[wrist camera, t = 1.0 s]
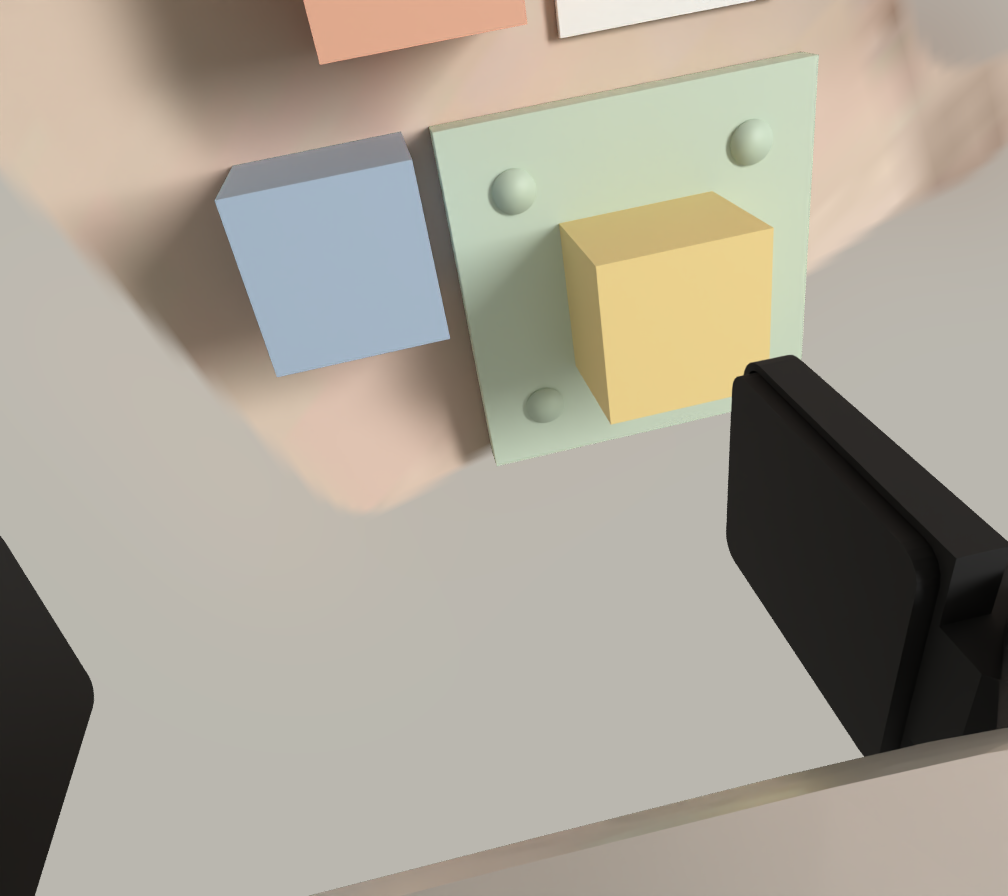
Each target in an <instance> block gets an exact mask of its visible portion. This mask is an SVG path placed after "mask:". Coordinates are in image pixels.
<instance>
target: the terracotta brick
mask: <svg viewBox="0 0 1008 896" xmlns="http://www.w3.org/2000/svg"><path fill="white" fill-rule="evenodd" d="M303 1H304V5H305V9H306V13H307V17H308V21H309V25H310V28H311V32H312V36H313V40H314V44H315V48H316V52H317V56H318V59H319V63H320V65H322V64H327V63H332V62H337V61H342V60H347V59H352V58H357V57H362V56H367V55H373V54H378V53H383V52H388V51H393V50H398V49H403V48H408V47H413V46H418V45H423V44H428V43H434V42H439V41H444V40H449V39H454V38H459V37H464V36H469V35H474V34H479V33H484V32H489V31H495V30H500V29H505V28H510V27H515V26H520V25H525V24H527V17H526V10H525V2H524V0H303Z"/></svg>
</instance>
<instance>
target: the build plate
mask: <svg viewBox="0 0 1008 896" xmlns="http://www.w3.org/2000/svg"><path fill="white" fill-rule="evenodd" d="M818 57H819V55H817V54H811V53H806V52H798V53H793V54H788V55H783V56H778V57H773V58H768V59H763V60H758V61H753V62H748V63H743V64H738V65H733V66H728V67H723V68H718V69H714V70H709V71H704V72H699V73H694V74H689V75H684V76H679V77H674V78H669V79H664V80H659V81H654V82H649V83H644V84H639V85H634V86H629V87H624V88H619V89H614V90H609V91H604V92H599V93H594V94H589V95H584V96H579V97H574V98H569V99H564V100H559V101H554V102H549V103H544V104H539V105H534V106H529V107H524V108H519V109H514V110H509V111H504V112H499V113H494V114H489V115H484V116H479V117H475V118H470V119H465V120H460V121H455V122H450V123H445V124H440V125H435V126H430V127H429V130H430V135H431V140H432V145H433V150H434V156H435V161H436V166H437V171H438V176H439V181H440V186H441V191H442V197H443V202H444V207H445V212H446V217H447V222H448V227H449V232H450V238H451V243H452V248H453V253H454V258H455V263H456V268H457V273H458V279H459V284H460V289H461V294H462V299H463V304H464V309H465V314H466V320H467V325H468V330H469V335H470V340H471V345H472V350H473V355H474V361H475V366H476V371H477V376H478V381H479V386H480V391H481V396H482V402H483V407H484V412H485V417H486V422H487V427H488V432H489V437H490V443H491V448H492V453H493V456H494V459H495V462H496V465H497V466H501V465H505V464H509V463H513V462H518V461H522V460H526V459H530V458H535V457H539V456H543V455H548V454H552V453H556V452H561V451H565V450H569V449H574V448H578V447H582V446H586V445H591V444H595V443H599V442H604V441H608V440H612V439H617V438H621V437H625V436H629V435H634V434H638V433H642V432H647V431H651V430H655V429H660V428H664V427H668V426H672V425H677V424H681V423H685V422H690V421H694V420H698V419H702V418H707V417H711V416H715V415H720V414H724V413H728V412H731V403H732V397H728V398H724V399H720V400H715V401H711V402H707V403H703V404H698V405H694V406H690V407H685V408H681V409H677V410H672V411H668V412H664V413H659V414H655V415H651V416H646V417H642V418H638V419H633V420H629V421H625V422H620V423H616V424H612V425H611V424H610V422H609V421H608V419H607V417H606V416H605V414H604V412H603V411H602V409H601V407H600V406H599V404H598V402H597V401H596V399H595V397H594V396H593V394H592V392H591V391H590V389H589V387H588V386H587V384H586V382H585V381H584V379H583V377H582V376H581V374H580V372H579V370H578V369H577V367H576V365H575V356H574V348H573V339H572V331H571V322H570V314H569V305H568V297H567V288H566V280H565V271H564V263H563V254H562V246H561V237H560V229H559V223H563V222H568V221H573V220H577V219H582V218H587V217H592V216H596V215H601V214H606V213H611V212H615V211H620V210H625V209H629V208H634V207H639V206H644V205H648V204H653V203H658V202H662V201H667V200H672V199H677V198H681V197H686V196H691V195H695V194H700V193H705V192H710V191H713V192H715V193H717V194H718V195H720V196H722V197H723V198H725V199H727V200H728V201H730V202H732V203H733V204H735V205H737V206H738V207H740V208H742V209H743V210H745V211H747V212H748V213H750V214H752V215H753V216H755V217H757V218H758V219H760V220H762V221H763V222H765V223H767V224H768V225H770V226H772V227H773V228H774V235H773V267H772V298H771V330H770V359H771V358H776V357H780V356H785V355H794V356H796V357H798V358H799V359H800V360H801V359H802V358H801V357H802V342H803V324H804V323H803V322H804V306H805V288H806V271H807V253H808V235H809V217H810V199H811V182H812V164H813V146H814V128H815V111H816V93H817V75H818Z"/></svg>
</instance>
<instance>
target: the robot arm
mask: <svg viewBox="0 0 1008 896" xmlns="http://www.w3.org/2000/svg"><path fill="white" fill-rule="evenodd" d="M728 477H729V478H728V501H727V502H728V503H727V526H726V537H727V543H728V547H729V551H730V553H731V556H732V557H733V559H734V561H735V563H736V564H737V566H738V567H739V569H740V570H741V572H742V573H743V575H744V576H745V578H746V579H747V581H748V582H749V584H750V586H751V587H752V589H753V590H754V591H755V593H756V594H757V596H758V597H759V599H760V601H761V602H762V604H763V605H764V607H765V608H766V610H767V611H768V613H769V614H770V616H771V617H772V619H773V620H774V622H775V623H776V625H777V626H778V628H779V629H780V631H781V632H782V634H783V635H784V637H785V638H786V640H787V641H788V643H789V645H790V646H791V648H792V649H793V651H794V652H795V654H796V655H797V657H798V658H799V660H800V661H801V663H802V664H803V666H804V667H805V669H806V670H807V672H808V673H809V675H810V676H811V678H812V679H813V681H814V682H815V684H816V685H817V687H818V688H819V690H820V691H821V693H822V694H823V696H824V698H825V699H826V700H827V702H828V704H829V705H830V707H831V708H832V710H833V711H834V713H835V714H836V716H837V717H838V719H839V720H840V722H841V723H842V725H843V726H844V728H845V729H846V731H847V732H848V734H849V735H850V737H851V738H852V740H853V741H854V743H855V744H856V746H857V747H858V749H859V750H860V752H861V753H862V754H863V755H864V757H862V758H858V759H854V760H849V761H845V762H840V763H837V764H832V765H828V766H823V767H820V768H815V769H810V770H806V771H802V772H797V773H793V774H789V775H784V776H781V777H776V778H772V779H769V780H765V781H760V782H756V783H752V784H748V785H744V786H740V787H737V788H733V789H728V790H725V791H721V792H717V793H712V794H708V795H704V796H700V797H696V798H693V799H688V800H684V801H680V802H677V803H672V804H668V805H665V806H660V807H656V808H652V809H648V810H644V811H640V812H636V813H632V814H628V815H624V816H620V817H617V818H612V819H608V820H605V821H600V822H596V823H592V824H588V825H585V826H580V827H577V828H572V829H568V830H564V831H560V832H556V833H552V834H548V835H544V836H540V837H537V838H533V839H529V840H525V841H521V842H517V843H513V844H509V845H506V846H501V847H498V848H494V849H489V850H486V851H482V852H478V853H474V854H470V855H466V856H462V857H458V858H454V859H451V860H446V861H443V862H439V863H435V864H431V865H427V866H423V867H419V868H415V869H411V870H408V871H403V872H399V873H396V874H391V875H387V876H384V877H380V878H376V879H372V880H368V881H364V882H360V883H357V884H352V885H349V886H345V887H341V888H337V889H333V890H329V891H325V892H321V893H318V894H313V895H310V896H1008V541H1007V540H1005V539H1004V538H1003V537H1002V536H1001V535H1000V534H999V533H998V532H996V531H995V530H994V529H993V528H992V527H991V526H990V525H988V524H987V523H986V522H985V521H984V520H983V519H982V518H980V517H979V516H978V515H977V514H976V513H974V511H972V510H971V509H970V508H969V507H968V506H967V505H966V504H964V503H963V502H962V501H961V500H960V499H959V498H958V497H956V496H955V495H954V494H953V493H952V492H951V491H949V490H948V489H947V488H946V487H945V486H944V485H943V484H942V483H940V482H939V481H938V480H937V479H936V478H935V477H934V476H932V475H931V474H930V473H929V472H928V471H927V470H926V469H925V468H923V467H922V466H921V465H920V464H919V463H918V462H917V461H915V460H914V459H913V458H912V457H911V456H910V455H909V454H907V453H906V452H905V451H904V450H903V449H902V448H901V447H899V446H898V445H897V444H896V443H895V442H894V441H893V440H891V439H890V438H889V437H888V436H887V435H886V434H885V433H883V432H882V431H881V430H880V429H879V428H878V427H877V426H875V425H874V424H873V423H872V422H871V421H870V420H868V419H867V418H866V417H865V416H864V415H863V414H862V413H861V412H859V411H858V410H857V409H856V408H855V407H854V406H853V405H851V404H850V403H849V402H848V401H847V400H846V399H845V398H843V397H842V396H841V395H840V394H839V393H838V392H836V391H835V390H834V389H833V388H832V387H831V386H830V385H829V384H827V383H826V382H825V381H824V380H823V379H822V378H821V377H820V376H818V375H817V374H816V373H815V372H814V371H813V370H812V369H810V368H809V367H808V366H807V365H806V364H805V363H804V362H802V361H801V360H800V359H799V358H798V357H796V356H794V355H785V356H780V357H776V358H771V359H766V360H761V361H756V362H751V363H749V364H748V365H747V366H746V368H745V371H744V375H742V376H738V377H736V378H735V379H734V381H733V386H732V403H731V427H730V452H729V476H728ZM93 703H94V692H93V686H92V682H91V680H90V678H89V676H88V674H87V673H86V671H85V670H84V668H83V666H82V665H81V663H80V662H79V660H78V658H77V657H76V655H75V654H74V652H73V650H72V649H71V647H70V646H69V644H68V642H67V641H66V639H65V637H64V636H63V634H62V633H61V631H60V629H59V628H58V626H57V625H56V623H55V621H54V620H53V618H52V617H51V615H50V613H49V612H48V610H47V609H46V607H45V605H44V604H43V602H42V601H41V599H40V597H39V596H38V594H37V593H36V591H35V589H34V588H33V586H32V584H31V583H30V581H29V580H28V578H27V577H26V575H25V574H24V572H23V570H22V568H21V567H20V565H19V564H18V562H17V560H16V559H15V557H14V556H13V554H12V552H11V551H10V549H9V548H8V546H7V544H6V543H5V541H4V540H3V539H2V538H1V536H0V896H35V893H36V890H37V887H38V883H39V880H40V877H41V874H42V870H43V867H44V863H45V860H46V857H47V854H48V851H49V848H50V844H51V841H52V838H53V835H54V831H55V828H56V825H57V822H58V818H59V815H60V812H61V809H62V805H63V802H64V799H65V796H66V792H67V789H68V786H69V783H70V780H71V776H72V773H73V769H74V767H75V763H76V760H77V757H78V754H79V750H80V747H81V744H82V741H83V737H84V734H85V731H86V728H87V724H88V721H89V718H90V715H91V711H92V708H93Z"/></svg>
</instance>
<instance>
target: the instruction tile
mask: <svg viewBox="0 0 1008 896" xmlns="http://www.w3.org/2000/svg"><path fill="white" fill-rule="evenodd" d="M749 1H754V0H555V8H556V18H557V27H558V37H559V38H565V37H570V36H575V35H580V34H585V33H590V32H596V31H601V30H606V29H611V28H616V27H621V26H626V25H631V24H637V23H642V22H647V21H652V20H657V19H662V18H667V17H672V16H677V15H683V14H688V13H693V12H698V11H703V10H708V9H713V8H718V7H724V6H729V5H734V4H739V3H744V2H749Z"/></svg>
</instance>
